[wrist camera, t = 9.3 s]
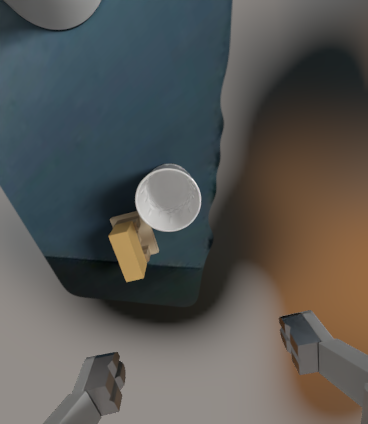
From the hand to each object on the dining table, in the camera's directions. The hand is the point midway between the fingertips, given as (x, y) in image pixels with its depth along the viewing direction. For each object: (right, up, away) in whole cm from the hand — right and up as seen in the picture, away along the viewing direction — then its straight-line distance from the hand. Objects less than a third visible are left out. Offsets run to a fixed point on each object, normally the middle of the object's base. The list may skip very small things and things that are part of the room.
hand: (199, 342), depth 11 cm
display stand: (-9, +3, +28) cm, 29 cm away
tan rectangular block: (-9, +1, +24) cm, 26 cm away
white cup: (-3, +11, +25) cm, 28 cm away
